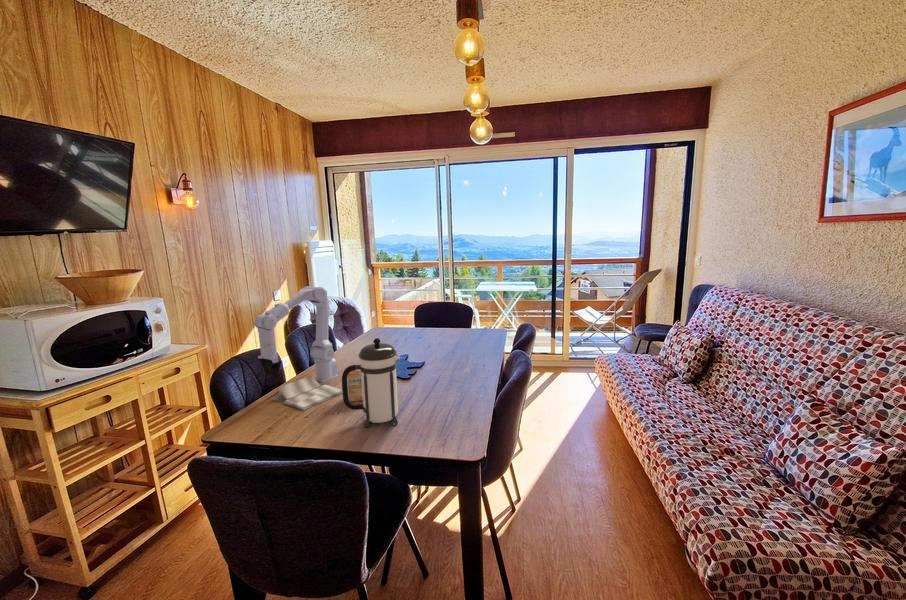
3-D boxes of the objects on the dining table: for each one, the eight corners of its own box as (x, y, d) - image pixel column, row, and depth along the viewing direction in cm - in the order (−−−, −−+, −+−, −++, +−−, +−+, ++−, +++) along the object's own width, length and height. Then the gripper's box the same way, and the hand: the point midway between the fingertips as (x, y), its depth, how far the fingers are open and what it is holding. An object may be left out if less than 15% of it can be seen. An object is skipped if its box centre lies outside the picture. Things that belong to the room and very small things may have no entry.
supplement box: (348, 402, 145) (346, 371, 143) (348, 397, 149) (346, 367, 147) (369, 399, 147) (367, 368, 145) (369, 395, 151) (367, 365, 150)
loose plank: (310, 377, 162) (311, 375, 162) (319, 387, 160) (320, 385, 159) (276, 389, 149) (277, 387, 149) (286, 401, 146) (287, 399, 146)
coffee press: (382, 406, 141) (377, 330, 136) (411, 417, 131) (407, 336, 126) (343, 423, 128) (337, 340, 123) (372, 438, 117) (366, 348, 113)
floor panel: (312, 383, 166) (312, 380, 166) (345, 393, 154) (345, 389, 154) (270, 399, 149) (270, 396, 149) (303, 412, 137) (303, 408, 137)
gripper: (251, 342, 149) (255, 374, 151) (263, 349, 139) (267, 383, 141) (269, 339, 154) (273, 369, 156) (282, 345, 144) (285, 378, 146)
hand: (271, 375), depth 149 cm, fingers open, 7 cm apart
